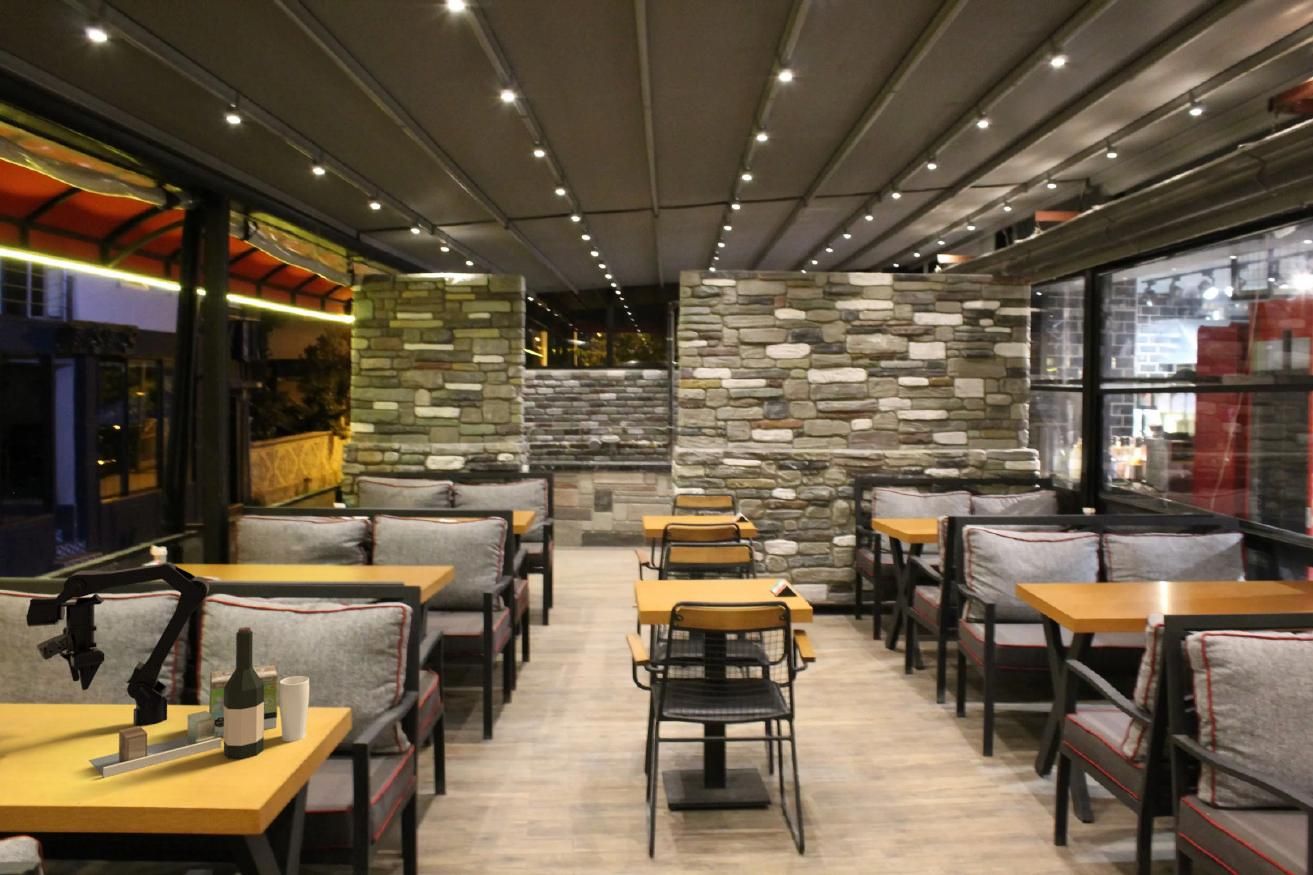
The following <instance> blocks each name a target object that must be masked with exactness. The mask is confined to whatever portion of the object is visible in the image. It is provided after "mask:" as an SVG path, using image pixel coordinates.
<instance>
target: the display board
mask: <svg viewBox="0 0 1313 875" xmlns="http://www.w3.org/2000/svg"><path fill="white" fill-rule="evenodd" d="M187 740H188V735H185V736H181V737H177V738H176V737H175V738H173V739H168V740H164V741H161V742H157V743H153V744H149V745H148V744H147V756H146V757H142V758H138V759H135V760H131V761H127V762H123V763H120V762H119V752H116V753H112V754H109V755H105V756H100V757H96V758H91V759H89V760H88V761H89V762H90V763H91V764H92V766H93V767H94V768H95V769H96V771H98V773H99V774H100V775H101V776H102V778H104V779H106V778H109V777H114V776H117V775H121V774H124V773H128V772H133V771H136V770H140V769H143V768H149V767H151V766H154V765H156V766H157V765H159V764H162V763H167V762H170V761H175V760H178V759H182V758H185V757H190V756H193V755H197V754H200V753H205V752H208V751H213V750H215V749H216V750H217V749H220V748H222V738H221V737H216V738H215V739H213V740H209V741H205V742H201V743H197V744H193V745H190V744H189V743H188V744H187Z"/></svg>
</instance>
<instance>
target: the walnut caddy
mask: <svg viewBox="0 0 1313 875" xmlns="http://www.w3.org/2000/svg"><path fill="white" fill-rule="evenodd" d="M147 746H148V732H147V731H146V730H144V728H143V727H142V726H133V727H129V728H124V729H120V730H118V753H119V762H120V763H123V762H127V761H131V760H135V759H138V758H142V757H146V756H147Z"/></svg>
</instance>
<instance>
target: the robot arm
mask: <svg viewBox="0 0 1313 875" xmlns="http://www.w3.org/2000/svg"><path fill="white" fill-rule="evenodd" d="M161 580H162V581H164V582H166V583H167V584H168V585H169V586H170V587H172V588H173V589H174V590H175V591H176V592H179V593H180V595H179V597H178V601H177V603H176V604H177V605H176V608H175V611H174V612H173V615H172V616H171V618H170V620H169V622H168V623H167V625H166V627H165V629H164V631H163V632H162V633H161V636H160V638H159V640H158V641H157V643H156V644H155V646H154V648H153V650H152V652H151V653H150V654H149V655H150V656H149V658H148V659H147V660H145V662H141V661H138V662H137V664H136V666H135V667H134V669H133V672H132V673H131V675H130V676H129V677H128V679H127V681H126V684H128V685H127V688H126V691H127V692H126V693H127V694H128V696H129V697H130V698H132V699H134V701H135V702H136V703H135V708H134V709H133V725H134V727H137V726H140V727H143V726H153V725H156V724H160V723H162V722H165V721H167V720H168V699H167V698H166V697H165V695H166V692H167V690H168V686H167V685H166V684H164V683H162V681H160V680H159V679H160V676H161V673H162V669H163V665H164V663H165V661H166V659H167V657H168V656H169V654H170V652H171V650H172V648H173V646H174V645H175V643H176V641H177V639H178V637H179V636H180V634H181V632H182V630H183V628H184V626H185V625H186V623H187V621H188V619H189V617H190V616H191V615H192V613H193V612H194V611H196V609H197V608H198V607H199V606H200V604H201V603H202V602H203V600H204V599H205V598H206V596H207V595H208V593H209V591H210V583H209V581H208V579H207V578H205V577H203V576H195V575H194V574H192V573H191V572H189V571H187V570H184V569H183V568H181V567H178V566H177V565H176V564H174V563H173V562H170V561H165V562H163V563H159V564H151V565H144V566H137V567H133V568H132V567H131V568H124V569H117V570H111V571H109V570H107V571H106V570H105V571H104V570H79V571H76V572H75V573H73V574H72V575H70V576H69V577H68V578H67V579H66V580H65V581H64V583H63V590H62V591H61V592H60V593H58V594H57V596H53V597H31V599H29V606H28V609H27V614H26V624H27V626H28V627H41V626H45V627H46V626H55V625H59V623H60V621H64V620H65V626H64V627H63V628H62V633H61V634H59V635H56V636H53V637H51V638H48V639H47V640H45V641H43V642H42V641H41V642H40V643H38V644H37V645H36V648H37V650H38V653H39V654H40V656H41V658H43V660H49V659H52V658H53V657H55V656H57V655H59V656H60V657H61V658H62V659H63V660H64V659H65V660H66V661H67V664H68V668H69V672H70V675H71V678H72V681H73V682H75V683H76V682H78V681H79V682H80V685H81V686H80V687H81V690H82V691H86V690H88V689H89V687H90V686H91V684H92V682H93V679H94V678H95V676H96V674H97V672H98V670H99V668H100V667H101V665H102V664H103V662H105V653H104V651H102V650H101V649H99V648H97V647H98V646H97V642H96V641H95V632H97V629H98V627H97V626H96V625H95V605H102V604H103V602H104V601H105V599H104V598H103V597H101V596H99V594H98V593H99V592H102V591H104V590H108V589H110V588H116V587H122V586H123V587H124V586H128V585H135V584H142V583H148V582H155V581H161ZM92 594H93V595H92ZM90 595H92V596H90ZM86 596H87V597H86ZM89 596H90V597H89ZM75 598H76V600H75V601H70V600H72V599H75Z"/></svg>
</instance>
